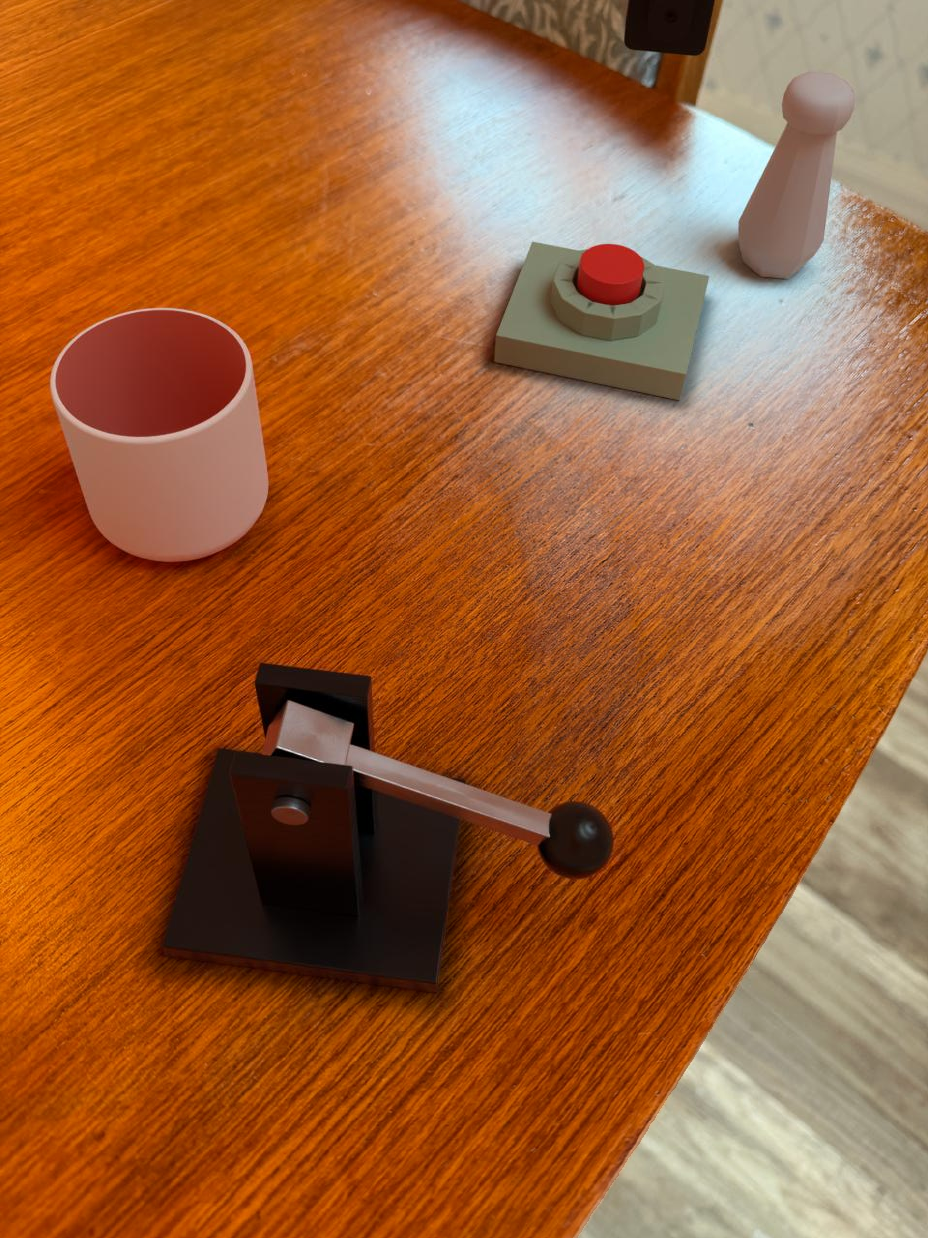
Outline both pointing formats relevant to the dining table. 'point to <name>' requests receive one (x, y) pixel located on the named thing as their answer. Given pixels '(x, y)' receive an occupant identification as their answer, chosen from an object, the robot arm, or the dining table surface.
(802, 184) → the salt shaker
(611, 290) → the button
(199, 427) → the cup
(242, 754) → the bracket
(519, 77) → the dining table surface
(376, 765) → the lever
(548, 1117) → the dining table surface
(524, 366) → the button box
